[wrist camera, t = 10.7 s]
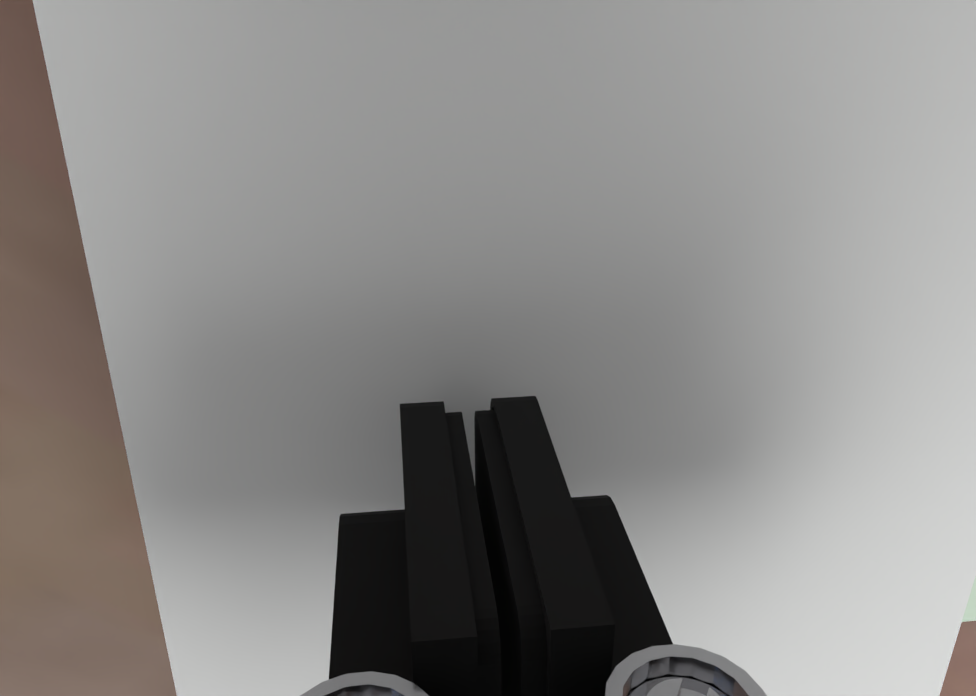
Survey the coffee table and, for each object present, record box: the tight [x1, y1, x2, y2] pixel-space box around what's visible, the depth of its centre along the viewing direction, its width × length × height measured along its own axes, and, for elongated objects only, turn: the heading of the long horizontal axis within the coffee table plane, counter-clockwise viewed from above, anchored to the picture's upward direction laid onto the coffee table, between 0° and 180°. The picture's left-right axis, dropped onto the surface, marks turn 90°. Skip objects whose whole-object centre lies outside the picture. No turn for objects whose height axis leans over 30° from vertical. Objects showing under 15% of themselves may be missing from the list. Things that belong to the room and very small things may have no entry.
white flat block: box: [33, 0, 976, 696], centre depth 13 cm, size 22×12×4 cm, turn 0°
